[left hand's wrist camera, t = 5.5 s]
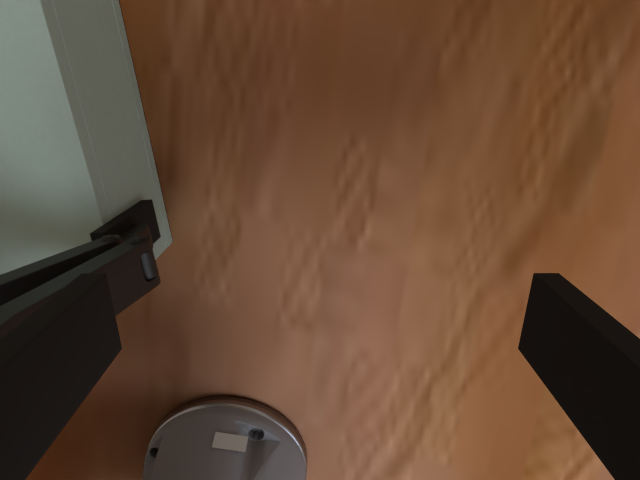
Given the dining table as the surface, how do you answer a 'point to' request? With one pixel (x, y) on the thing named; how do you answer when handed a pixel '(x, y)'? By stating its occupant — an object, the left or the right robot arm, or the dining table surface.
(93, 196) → the cabinet
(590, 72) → the dining table surface
